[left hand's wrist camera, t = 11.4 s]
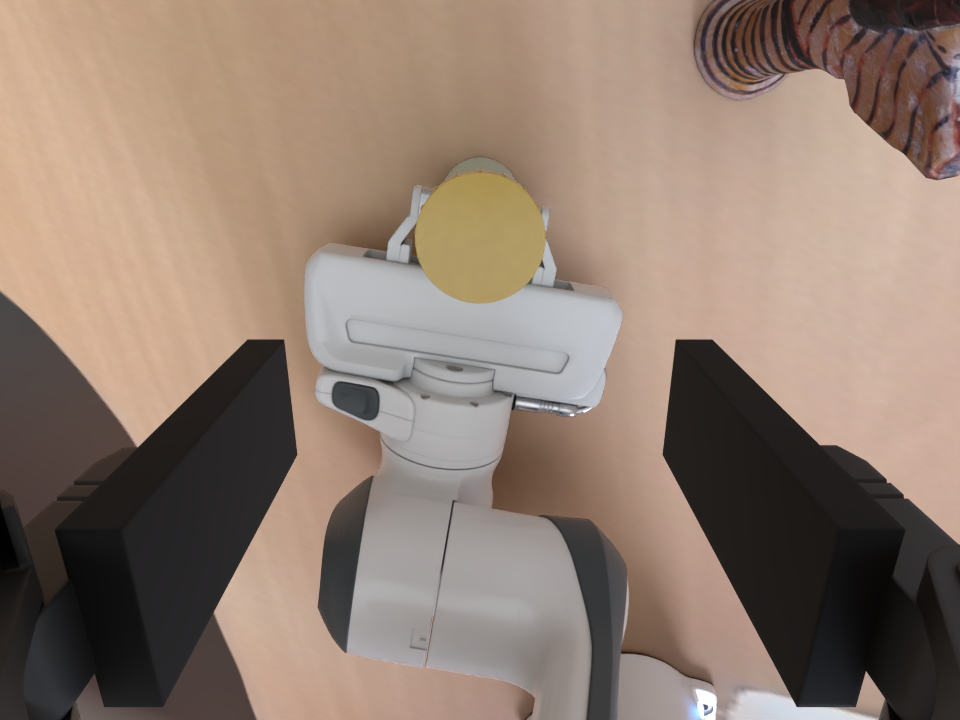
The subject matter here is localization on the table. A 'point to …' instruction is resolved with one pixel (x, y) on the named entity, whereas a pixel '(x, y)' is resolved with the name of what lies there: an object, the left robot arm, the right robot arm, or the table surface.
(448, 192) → the lid
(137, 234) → the table surface
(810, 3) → the figurine
